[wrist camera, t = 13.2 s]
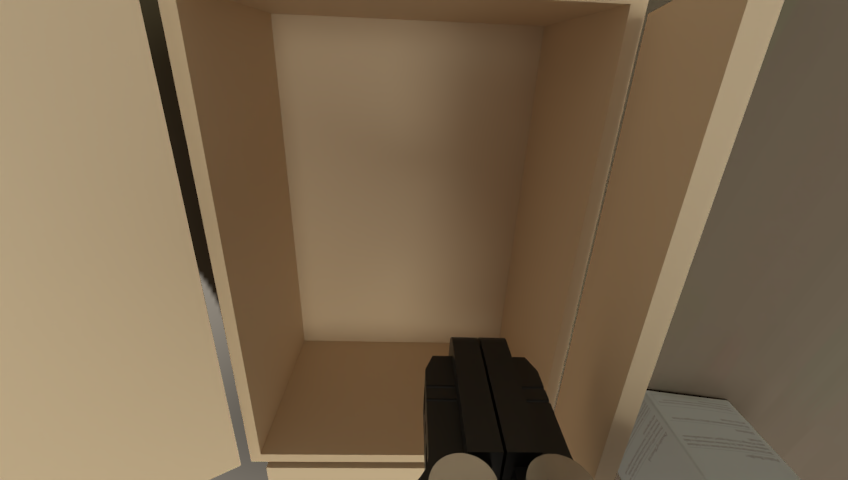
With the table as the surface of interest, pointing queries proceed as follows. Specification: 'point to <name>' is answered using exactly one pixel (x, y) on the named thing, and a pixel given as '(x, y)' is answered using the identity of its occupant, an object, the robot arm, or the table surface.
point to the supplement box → (697, 443)
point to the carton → (392, 199)
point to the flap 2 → (656, 211)
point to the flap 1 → (97, 261)
